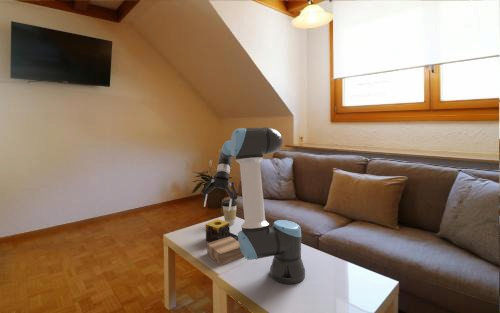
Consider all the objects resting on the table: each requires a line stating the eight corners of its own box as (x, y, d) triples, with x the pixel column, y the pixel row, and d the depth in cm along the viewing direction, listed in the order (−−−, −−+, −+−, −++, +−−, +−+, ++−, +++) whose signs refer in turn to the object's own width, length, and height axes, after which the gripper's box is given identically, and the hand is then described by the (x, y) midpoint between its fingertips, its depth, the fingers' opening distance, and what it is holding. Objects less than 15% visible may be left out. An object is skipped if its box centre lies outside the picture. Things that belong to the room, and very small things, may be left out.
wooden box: (245, 256, 134) (245, 245, 133) (220, 266, 126) (220, 254, 125) (230, 246, 145) (230, 236, 144) (207, 254, 137) (206, 243, 136)
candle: (218, 245, 146) (217, 228, 145) (205, 241, 152) (204, 224, 151) (230, 239, 154) (230, 222, 153) (217, 234, 160) (217, 218, 159)
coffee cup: (240, 222, 179) (240, 200, 177) (231, 227, 170) (231, 204, 168) (228, 219, 184) (227, 198, 182) (219, 224, 176) (218, 202, 174)
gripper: (242, 180, 161) (238, 214, 150) (200, 171, 157) (193, 206, 146) (245, 174, 154) (241, 210, 144) (202, 166, 150) (194, 202, 140)
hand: (217, 208), depth 145 cm, fingers open, 13 cm apart
